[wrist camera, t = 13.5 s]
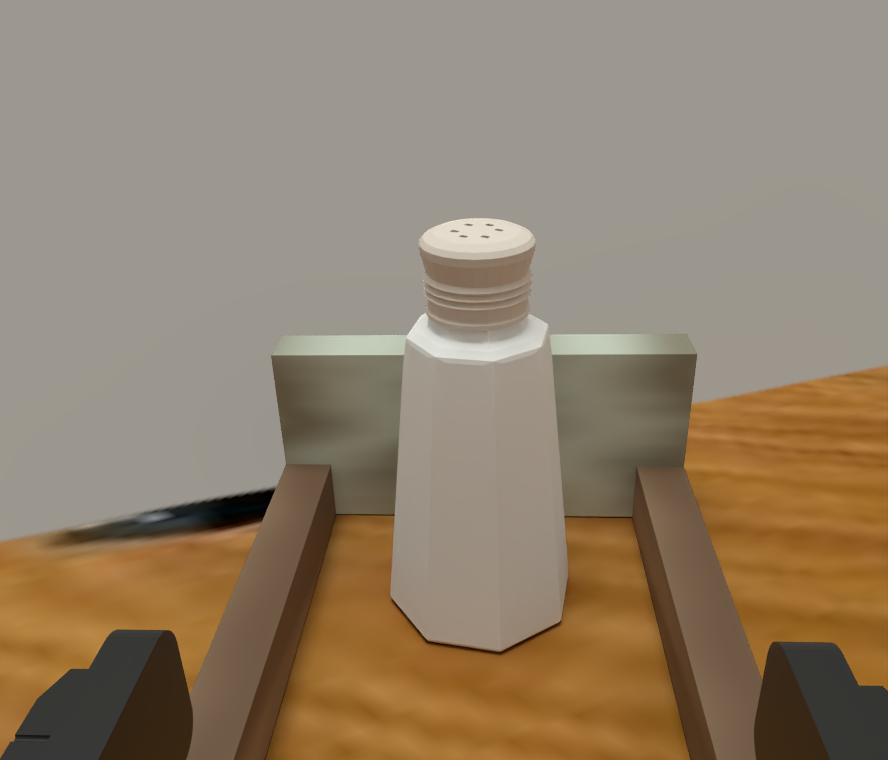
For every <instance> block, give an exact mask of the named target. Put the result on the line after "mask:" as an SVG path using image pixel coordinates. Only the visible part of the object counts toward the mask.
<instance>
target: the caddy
mask: <svg viewBox="0 0 888 760" xmlns="http://www.w3.org/2000/svg"><path fill="white" fill-rule="evenodd" d="M406 337H407V335H375V336H374V335H366V336H365V335H363V336H362V335H361V336H359V335H357V336H354V335H353V336H282V337H281V339H280V341H279V343H278V345H277V346H276V348H275V350H274V351H273V353H272V355H271V358H272V365H273V372H274V379H275V387H276V394H277V401H278V408H279V416H280V423H281V430H282V438H283V444H284V452H285V459H286V466H285V468H284V471H283V473H282V476H281V478H280V480H279V483H278V485H277V487H276V490H275V492H274V495H273V497H272V499H271V502H270V504H269V507H268V509H267V511H266V514H265V516H264V519H263V521H262V523H261V526H260V528H259V531H258V533H257V535H256V538H255V540H254V543H253V545H252V547H251V550H250V552H249V555H248V557H247V559H246V562H245V564H244V566H243V569H242V571H241V574H240V576H239V578H238V581H237V583H236V586H235V588H234V590H233V593H232V595H231V598H230V600H229V602H228V605H227V607H226V610H225V612H224V614H223V617H222V619H221V622H220V624H219V626H218V629H217V631H216V634H215V636H214V638H213V641H212V643H211V645H210V648H209V650H208V653H207V655H206V657H205V660H204V662H203V665H202V667H201V669H200V672H199V674H198V677H197V679H196V681H195V684H194V686H193V689H192V691H191V693H190V700H191V704H192V709H193V732H192V739H191V745H190V749H189V753H188V756H187V759H186V760H265V757H266V754H267V751H268V747H269V744H270V740H271V737H272V733H273V730H274V726H275V723H276V720H277V716H278V713H279V709H280V706H281V702H282V699H283V695H284V692H285V689H286V685H287V682H288V678H289V675H290V671H291V668H292V664H293V661H294V658H295V654H296V651H297V647H298V644H299V640H300V637H301V633H302V630H303V627H304V623H305V620H306V616H307V613H308V609H309V606H310V602H311V599H312V596H313V592H314V589H315V585H316V582H317V578H318V575H319V571H320V568H321V565H322V561H323V558H324V554H325V551H326V547H327V544H328V540H329V537H330V534H331V530H332V527H333V523H334V520H335V516H336V514H393V515H395V500H396V482H397V464H398V446H399V429H400V411H401V393H402V375H403V361H404V352H405V343H406ZM550 343H551V350H552V363H553V376H554V389H555V402H556V415H557V428H558V441H559V454H560V467H561V480H562V494H563V507H564V516H601V517H632V518H633V522H634V527H635V531H636V535H637V539H638V543H639V547H640V551H641V556H642V560H643V564H644V568H645V572H646V576H647V580H648V585H649V589H650V593H651V597H652V601H653V605H654V610H655V614H656V618H657V622H658V626H659V630H660V634H661V639H662V643H663V647H664V651H665V655H666V659H667V663H668V668H669V672H670V676H671V680H672V684H673V688H674V692H675V697H676V701H677V705H678V709H679V713H680V717H681V721H682V726H683V730H684V734H685V738H686V742H687V746H688V750H689V755H690V759H691V760H756V755H755V747H754V723H755V717H756V712H757V706H758V701H759V696H760V691H761V686H762V679H761V676H760V673H759V670H758V668H757V665H756V662H755V659H754V657H753V654H752V651H751V649H750V646H749V643H748V640H747V638H746V635H745V632H744V629H743V627H742V624H741V621H740V619H739V616H738V613H737V610H736V608H735V605H734V602H733V599H732V597H731V594H730V591H729V589H728V586H727V583H726V580H725V578H724V575H723V572H722V569H721V567H720V564H719V561H718V559H717V556H716V553H715V550H714V548H713V545H712V542H711V539H710V537H709V534H708V531H707V529H706V526H705V523H704V520H703V518H702V515H701V512H700V509H699V507H698V504H697V501H696V499H695V496H694V493H693V490H692V488H691V485H690V482H689V479H688V477H687V474H686V471H685V469H684V460H685V452H686V444H687V435H688V427H689V418H690V410H691V402H692V392H693V385H694V376H695V368H696V360H697V353H696V351H695V349H694V347H693V345H692V343H691V341H690V339H689V337H688V335H687V334H589V335H588V334H582V335H581V334H580V335H579V334H578V335H577V334H576V335H575V334H574V335H573V334H572V335H550Z"/></svg>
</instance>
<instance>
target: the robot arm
mask: <svg viewBox="0 0 888 760" xmlns="http://www.w3.org/2000/svg"><path fill="white" fill-rule="evenodd" d="M192 732H193V709H192V704H191V700H190V696H189V691H188V687H187V683H186V679H185V674H184V670H183V666H182V662H181V657H180V653H179V649H178V645H177V641H176V638H175V635H174V634H173V633H172V632H171V631H169V630H114V631H113V632H111V633H110V635H109V636H108V637H107V638H106V640H105V642H104V643H103V645H102V647H101V649H100V650H99V652H98V654H97V656H96V657H95V659H94V661H93V663H92V664H91V666H90V668H89V669H70V670H69V671H68V672H67V673H66V674H65V675H64V676H62V677H61V678H60V679H59V680H58V681H57V682H56V683H55V684H53V685H52V686H51V687H50V688H49V689H48V690H47V691H46V692H45V693H43V694H42V695H41V696H40V697H39V698H38V699H37V700H36V702H35V703H34V705H33V707H32V708H31V710H30V711H29V713H28V715H27V716H26V718H25V720H24V721H23V723H22V724H21V726H20V728H19V729H18V731H17V732H16V734H15V740H14V742H10V744H9V745H8V747H7V749H6V750H5V752H4V753H3V755H2V757H1V758H0V760H186V759H187V756H188V753H189V749H190V745H191V739H192ZM754 747H755V755H756V760H888V691H887V690H886V689H885V688H884V687H883V686H859V685H858V683H857V681H856V679H855V677H854V675H853V673H852V671H851V669H850V667H849V665H848V663H847V661H846V659H845V657H844V655H843V654H842V652H841V650H840V649H839V648H838V646H837V645H835V644H834V643H824V642H773V643H772V644H771V645H770V648H769V651H768V655H767V660H766V665H765V670H764V675H763V681H762V686H761V691H760V696H759V701H758V706H757V712H756V717H755V723H754Z"/></svg>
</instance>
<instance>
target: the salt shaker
mask: <svg viewBox="0 0 888 760" xmlns="http://www.w3.org/2000/svg"><path fill="white" fill-rule="evenodd" d="M535 244H536V240H535V238H534V236H533V235H532V234H531V232H530V231H529V230H527V229H526V228H524V227H521V226H519V225H517V224H514V223H511V222H508V221H504V220H498V219H487V218H472V219H461V220H455V221H450V222H446V223H443V224H440V225H438V226H436V227H433V228H431V229H429V230H428V231H426V232H425V234H424V235H423V236H422V237H421V239H420V240H419V249H420V255H421V258H422V261H423V264H424V267H425V270H426V271H425V272H424V274H423V279H424V282H423V284H424V295H425V296H426V298H427V299H428V303H427V305H426V313H425V314H423V315H421V316H420V317H419V319H418V320H417V322H416V323H415V325H414V326H413V328H412V330H411V331H410V332H409V334H408V335H407V337H406V343H405V352H404V361H403V375H402V393H401V411H400V429H399V446H398V464H397V482H396V500H395V518H394V536H393V554H392V572H391V590H390V596H391V598H392V599H393V600H394V601H395V602H396V604H397V605H398V606H399V607H400V608H401V610H402V611H403V612H404V613H405V614H406V616H407V617H408V618H409V619H410V620H411V622H412V623H413V624H414V625H415V626H416V628H417V629H418V630H419V631H420V632H421V634H422V635H423V636H424V637H425V638H426V639H427V640H428V641H430V642H437V643H443V644H450V645H457V646H463V647H470V648H476V649H483V650H489V651H496V652H501V651H503V650H505V649H507V648H509V647H511V646H513V645H515V644H517V643H519V642H521V641H523V640H525V639H527V638H529V637H531V636H533V635H535V634H537V633H539V632H541V631H543V630H545V629H547V628H549V627H551V626H553V625H555V624H557V623H558V622H560V621H561V618H562V612H563V605H564V599H565V592H566V585H567V579H568V559H567V546H566V533H565V520H564V507H563V494H562V480H561V467H560V454H559V441H558V428H557V415H556V402H555V389H554V376H553V363H552V350H551V343H550V335H549V328H548V324H546V323H545V322H543V321H541V320H540V319H538V318H536V317H534V316H532V315H530V314H529V312H530V305H529V302H528V296H530V294H531V291H532V289H531V284H532V281H531V277H532V273H531V270H530V269H529V267H530V264H531V261H532V257H533V254H534V251H535Z"/></svg>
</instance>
